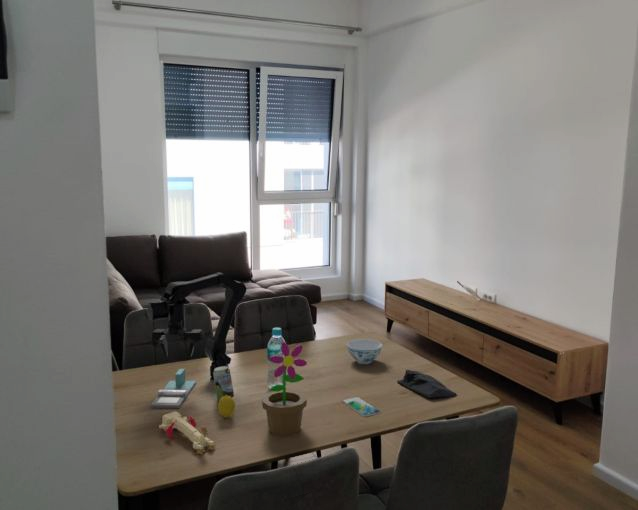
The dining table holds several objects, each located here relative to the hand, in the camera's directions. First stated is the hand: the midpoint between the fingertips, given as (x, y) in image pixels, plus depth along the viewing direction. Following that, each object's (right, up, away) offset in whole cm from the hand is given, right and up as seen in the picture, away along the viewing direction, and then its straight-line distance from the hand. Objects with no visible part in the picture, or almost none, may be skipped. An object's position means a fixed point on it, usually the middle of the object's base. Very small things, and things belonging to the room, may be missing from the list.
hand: (178, 356), depth 216 cm
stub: (0, -12, +2) cm, 12 cm away
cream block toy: (+12, -19, -39) cm, 44 cm away
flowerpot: (+42, -18, -33) cm, 56 cm away
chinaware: (+72, -8, +30) cm, 79 cm away
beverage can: (+19, -14, -10) cm, 26 cm away
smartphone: (+68, -15, -16) cm, 71 cm away
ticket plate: (0, -14, -9) cm, 16 cm away
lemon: (+22, -16, -25) cm, 37 cm away
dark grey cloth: (+94, -13, +1) cm, 95 cm away
